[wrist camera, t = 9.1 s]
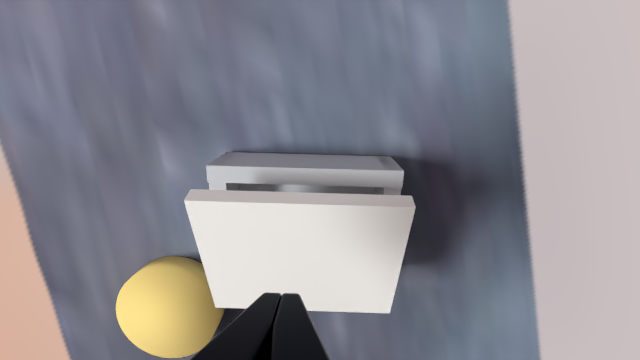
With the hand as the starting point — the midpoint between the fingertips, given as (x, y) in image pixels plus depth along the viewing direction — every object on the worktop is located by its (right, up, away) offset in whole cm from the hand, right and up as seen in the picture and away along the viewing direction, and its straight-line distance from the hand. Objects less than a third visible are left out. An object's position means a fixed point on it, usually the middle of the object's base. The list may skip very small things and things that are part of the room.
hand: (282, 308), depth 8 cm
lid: (0, 0, +7) cm, 7 cm away
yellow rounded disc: (-8, -5, +13) cm, 16 cm away
